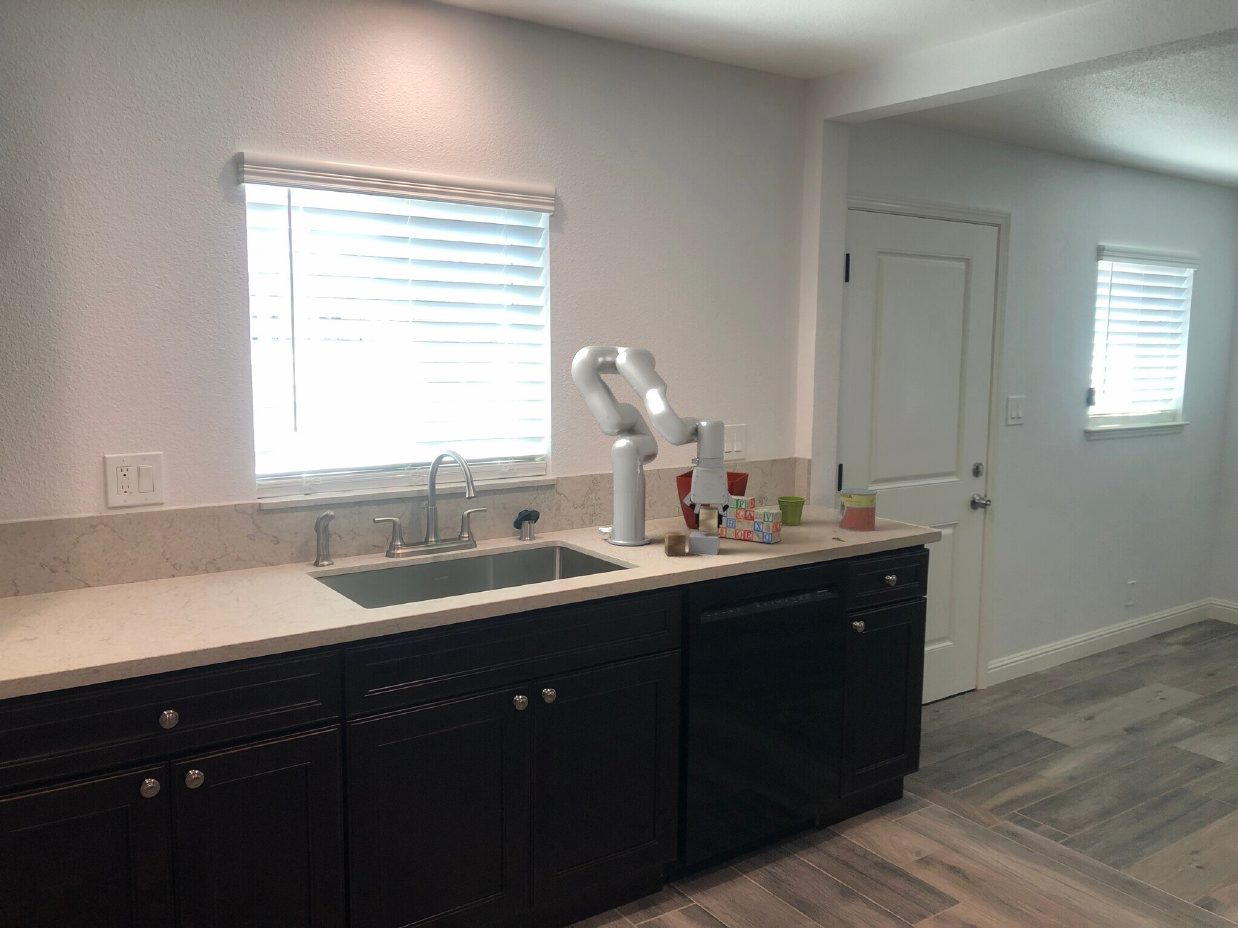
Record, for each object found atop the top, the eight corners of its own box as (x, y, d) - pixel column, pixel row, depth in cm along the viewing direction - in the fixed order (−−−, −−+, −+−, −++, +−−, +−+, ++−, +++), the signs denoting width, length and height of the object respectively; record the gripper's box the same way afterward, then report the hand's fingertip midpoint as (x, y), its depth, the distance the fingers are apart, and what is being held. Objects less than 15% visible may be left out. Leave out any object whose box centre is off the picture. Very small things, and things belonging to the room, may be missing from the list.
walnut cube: (667, 556, 260) (667, 535, 259) (664, 552, 264) (664, 531, 264) (685, 556, 260) (685, 535, 259) (682, 552, 265) (682, 531, 264)
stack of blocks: (780, 541, 281) (782, 500, 279) (771, 544, 276) (773, 502, 274) (718, 532, 293) (719, 493, 292) (708, 535, 288) (709, 495, 286)
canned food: (834, 524, 307) (836, 488, 306) (868, 524, 308) (870, 488, 306) (844, 531, 296) (845, 494, 295) (879, 531, 297) (881, 494, 295)
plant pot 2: (792, 528, 301) (793, 501, 300) (770, 523, 308) (770, 497, 307) (811, 524, 306) (811, 498, 305) (788, 520, 314) (789, 495, 313)
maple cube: (699, 530, 264) (699, 509, 263) (700, 527, 269) (700, 506, 268) (717, 531, 263) (717, 510, 262) (717, 527, 268) (718, 507, 267)
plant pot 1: (732, 534, 290) (733, 480, 288) (673, 529, 297) (674, 476, 295) (747, 523, 308) (749, 473, 305) (692, 518, 315) (693, 469, 313)
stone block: (688, 554, 264) (688, 536, 263) (691, 548, 271) (692, 531, 271) (717, 555, 262) (717, 538, 261) (719, 549, 270) (720, 532, 269)
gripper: (678, 464, 261) (677, 528, 264) (740, 465, 259) (738, 530, 261) (681, 460, 269) (680, 523, 271) (741, 462, 266) (739, 525, 268)
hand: (708, 526), depth 266 cm, fingers closed on maple cube, 4 cm apart
